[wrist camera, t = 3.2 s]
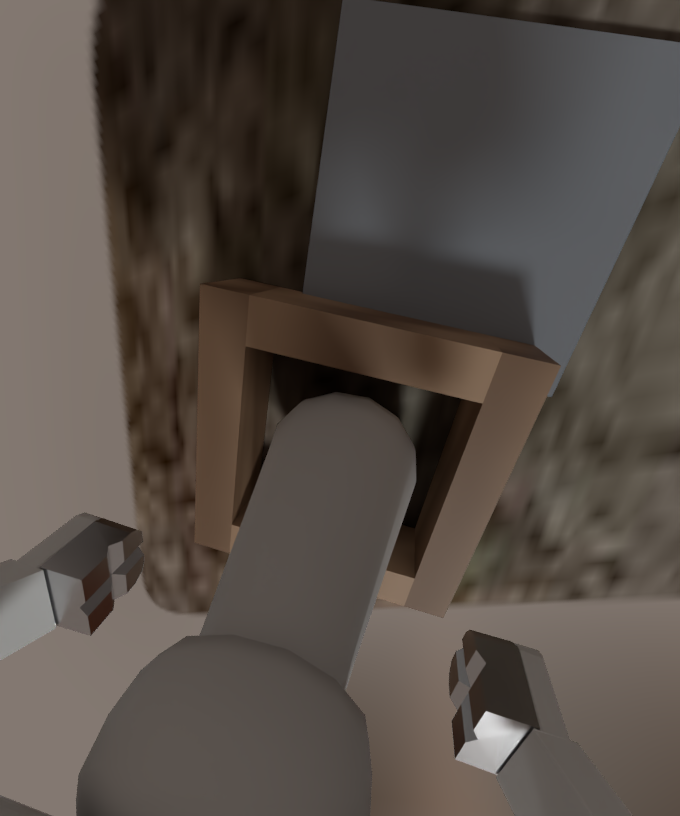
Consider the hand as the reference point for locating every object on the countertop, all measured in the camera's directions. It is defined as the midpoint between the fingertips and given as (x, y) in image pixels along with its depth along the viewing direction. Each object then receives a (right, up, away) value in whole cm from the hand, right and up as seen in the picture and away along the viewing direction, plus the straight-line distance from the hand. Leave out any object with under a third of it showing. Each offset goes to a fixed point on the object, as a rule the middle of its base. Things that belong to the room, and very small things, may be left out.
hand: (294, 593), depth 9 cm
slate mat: (+5, +11, +3) cm, 12 cm away
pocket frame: (+2, +3, +7) cm, 8 cm away
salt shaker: (+2, +3, +8) cm, 8 cm away
